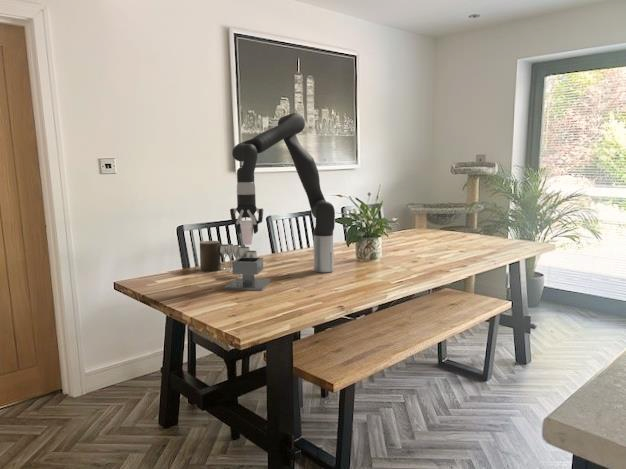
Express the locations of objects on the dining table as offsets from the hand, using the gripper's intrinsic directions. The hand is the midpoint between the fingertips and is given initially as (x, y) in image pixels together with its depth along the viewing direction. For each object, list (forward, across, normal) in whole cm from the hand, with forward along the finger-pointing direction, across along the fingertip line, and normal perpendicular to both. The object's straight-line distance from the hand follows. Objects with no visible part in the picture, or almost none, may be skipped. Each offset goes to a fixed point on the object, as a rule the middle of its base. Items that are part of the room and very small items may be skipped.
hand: (247, 233), depth 204 cm
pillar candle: (+23, +27, -26) cm, 44 cm away
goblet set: (+23, +12, -21) cm, 33 cm away
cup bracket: (+22, 0, 0) cm, 22 cm away
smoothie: (+5, 0, 0) cm, 5 cm away
